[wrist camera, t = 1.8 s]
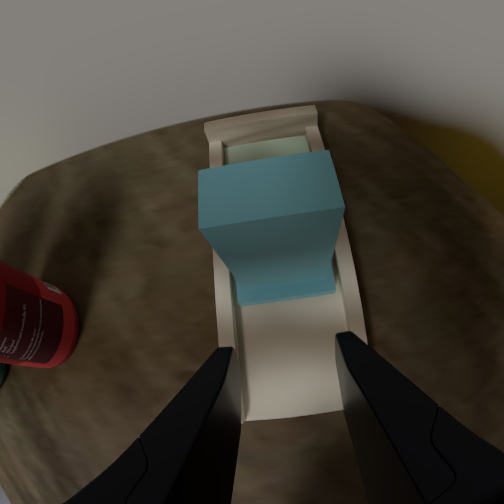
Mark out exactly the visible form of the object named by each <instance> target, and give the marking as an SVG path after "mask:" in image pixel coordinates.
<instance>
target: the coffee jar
mask: <svg viewBox="0 0 504 504" xmlns="http://www.w3.org/2000/svg"><path fill="white" fill-rule="evenodd" d="M5 375H6V365H5V363H0V386H1V385H2V383H3V381H4V379H5Z"/></svg>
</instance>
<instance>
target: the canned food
mask: <svg viewBox="0 0 504 504" xmlns="http://www.w3.org/2000/svg"><path fill="white" fill-rule="evenodd" d="M78 329H79V325H78V316H77V311H76V309H75V306H74V304H73V302H72V300H71V299H70V298H69V297H68V296H67V295H66V294H65V293H64V292H63V291H62V290H61V289H59V288H58V287H56V286H53V285H51V284H49V283H46V282H44V281H42V280H40V279H37V278H35V277H33V276H31V275H29V274H27V273H24V272H22V271H20V270H18V269H16V268H14V267H12V266H10V265H8V264H6V263H4V262H2V261H0V363H6V364H13V365H21V366H29V367H39V368H52V367H54V366H57V365H60V364H62V363H63V362H65V361H66V360H67V359H68V358H69V357H70V355H71V353H72V352H73V350H74V348H75V345H76V342H77V338H78Z"/></svg>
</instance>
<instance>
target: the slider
mask: <svg viewBox="0 0 504 504" xmlns="http://www.w3.org/2000/svg"><path fill="white" fill-rule="evenodd" d="M344 210H345V205H344V201H343V197H342V193H341V190H340V186H339V183H338V179H337V175H336V172H335V169H334V165H333V162H332V158H331V155H330V152H329V150H324V151H315V152H307V153H299V154H292V155H285V156H278V157H271V158H265V159H259V160H252V161H247V162H241V163H235V164H230V165H224V166H219V167H214V168H209V169H204V170H199V171H198V217H199V230H200V231H201V233H202V234H203V236H204V237H205V238H206V240H207V241H208V242H209V244H210V245H211V246H212V248H213V249H214V250H215V252H216V253H217V254H218V256H219V257H220V258H221V260H222V261H223V262H224V264H225V265H226V266H227V268H228V269H229V270H230V272H231V273H232V274H233V276H234V277H235V278H236V288H237V300H238V304H239V305H240V306H248V305H256V304H264V303H272V302H280V301H287V300H294V299H301V298H308V297H315V296H321V295H328V294H334V293H335V291H336V286H335V280H334V274H333V269H332V263H331V260H332V256H333V253H334V249H335V245H336V242H337V238H338V234H339V230H340V226H341V222H342V218H343V214H344Z"/></svg>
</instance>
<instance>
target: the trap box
mask: <svg viewBox="0 0 504 504" xmlns="http://www.w3.org/2000/svg"><path fill="white" fill-rule="evenodd" d="M317 122H318V113H317V110H316V107H315V105H310V106H301V107H292V108H285V109H277V110H271V111H264V112H258V113H252V114H246V115H240V116H235V117H230V118H225V119H220V120H215V121H210V122H206V123H204V131H205V134H206V136H207V139H208V141H209V153H210V168H214V167H219V166H224V165H230V164H235V163H241V162H247V161H252V160H259V159H265V158H271V157H278V156H285V155H292V154H299V153H307V152H315V151H324V150H325V148H324V145H323V142H322V139H321V135H320V132H319V129H318V126H317ZM213 263H214V281H215V297H216V312H217V326H218V339H219V347H228V346H232V347H234V349H235V352H236V355H237V358H238V362H239V365H240V369H241V424H243V423H244V422H245V421H251V420H265V419H277V418H287V417H296V416H305V415H312V414H319V413H326V412H332V411H338V410H343V405H342V398H341V392H340V386H339V379H338V374H337V368H336V361H335V335H336V333H339V332H344V331H352V332H353V333H354V334H356V335H357V336H358V337H359V338H360V339H361V340H363V341H364V342H365V343H366V344H367V337H366V330H365V323H364V317H363V311H362V305H361V299H360V294H359V288H358V283H357V278H356V273H355V268H354V263H353V258H352V253H351V249H350V244H349V240H348V235H347V231H346V227H345V222H344V218H342V222H341V226H340V230H339V234H338V238H337V242H336V245H335V249H334V253H333V256H332V260H331V263H332V269H333V274H334V280H335V286H336V291H335V293H334V294H328V295H321V296H315V297H308V298H301V299H294V300H287V301H280V302H272V303H264V304H256V305H248V306H240V305H239V304H238V300H237V288H236V278H235V277H234V276H233V274H232V273H231V272H230V270H229V269H228V268H227V266H226V265H225V264H224V262H223V261H222V260H221V258H220V257H219V256H218V254H217V253H216V252H215V250H214V249H213ZM367 345H368V344H367Z"/></svg>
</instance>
